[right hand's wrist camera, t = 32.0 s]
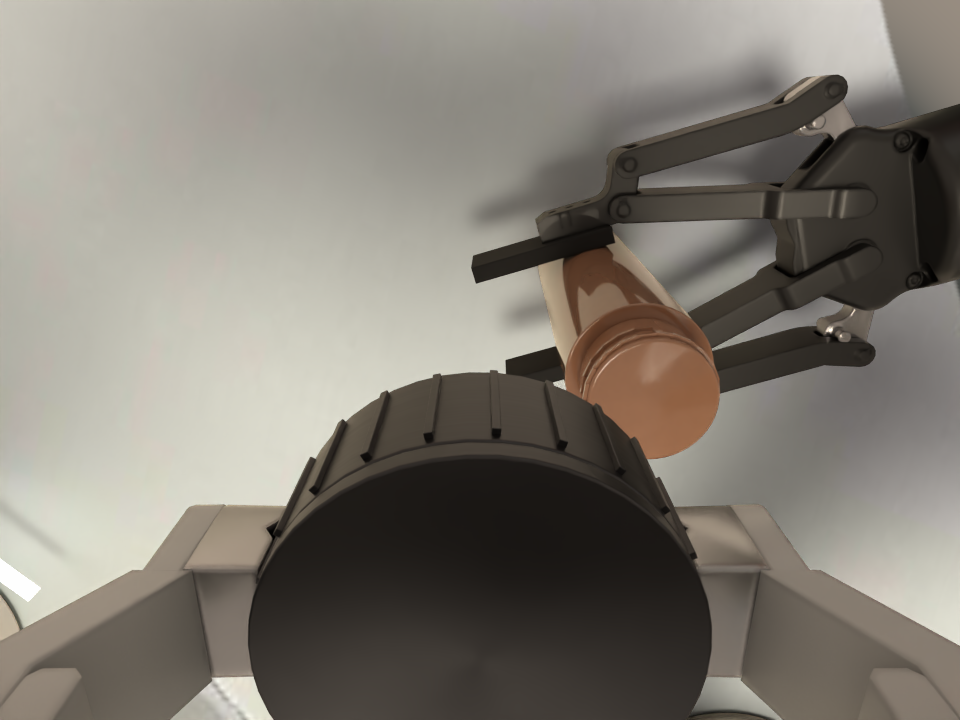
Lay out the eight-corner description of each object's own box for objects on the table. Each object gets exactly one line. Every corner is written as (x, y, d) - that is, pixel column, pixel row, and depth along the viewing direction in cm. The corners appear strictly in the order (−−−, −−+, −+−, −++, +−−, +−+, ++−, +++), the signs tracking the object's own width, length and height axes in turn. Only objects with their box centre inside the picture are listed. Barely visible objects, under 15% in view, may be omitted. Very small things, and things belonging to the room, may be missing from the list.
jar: (621, 213, 37) (734, 313, 19) (628, 299, 39) (738, 463, 21) (532, 227, 38) (562, 336, 20) (543, 311, 39) (580, 482, 22)
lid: (349, 311, 9) (306, 379, 7) (733, 437, 10) (809, 538, 8) (256, 628, 11) (198, 763, 9) (581, 714, 12) (605, 861, 10)
